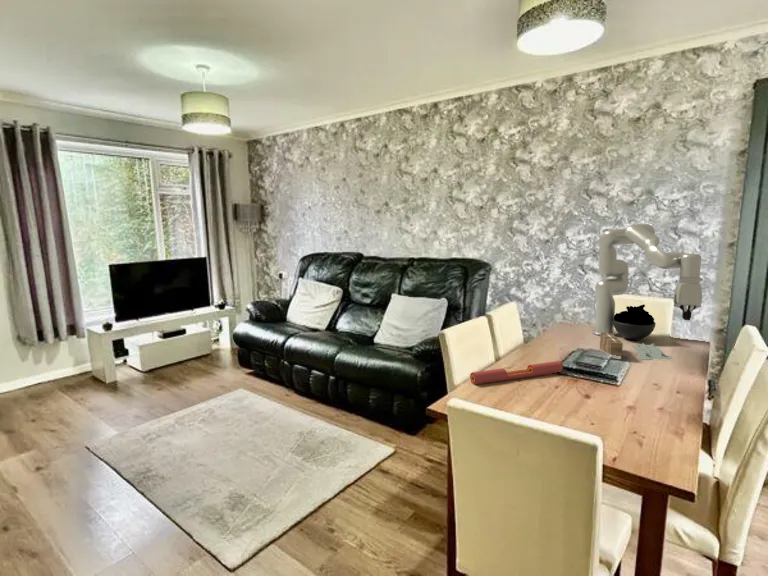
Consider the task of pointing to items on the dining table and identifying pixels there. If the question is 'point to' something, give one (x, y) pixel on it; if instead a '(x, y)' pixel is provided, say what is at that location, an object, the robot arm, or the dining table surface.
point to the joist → (611, 344)
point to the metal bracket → (650, 352)
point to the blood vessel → (515, 373)
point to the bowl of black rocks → (634, 323)
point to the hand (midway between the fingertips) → (686, 319)
